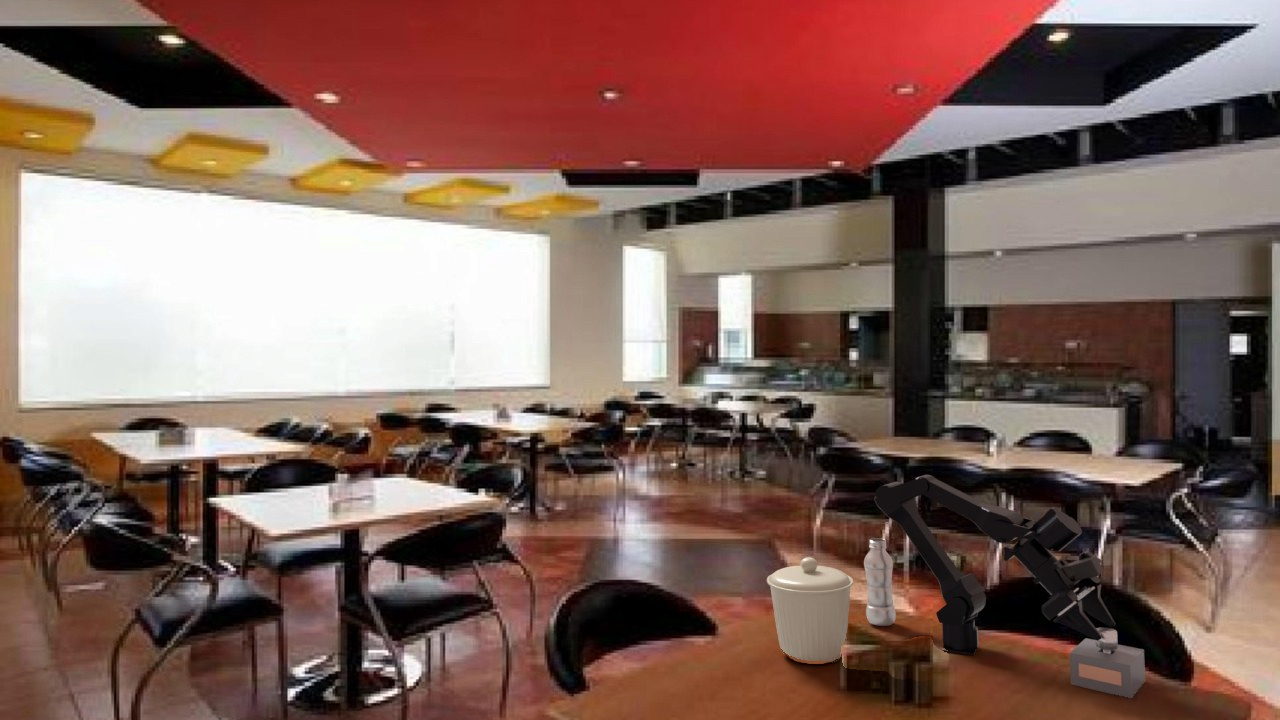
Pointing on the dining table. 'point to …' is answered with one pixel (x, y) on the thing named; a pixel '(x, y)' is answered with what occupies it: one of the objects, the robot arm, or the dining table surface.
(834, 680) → the dining table surface
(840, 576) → the canister
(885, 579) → the plastic bottle
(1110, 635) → the pump plunger
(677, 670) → the dining table surface
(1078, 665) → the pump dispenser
